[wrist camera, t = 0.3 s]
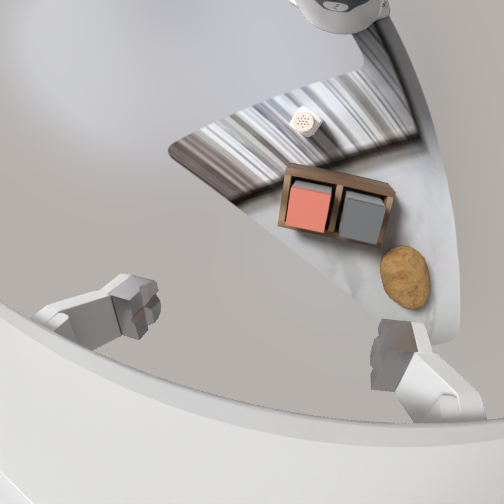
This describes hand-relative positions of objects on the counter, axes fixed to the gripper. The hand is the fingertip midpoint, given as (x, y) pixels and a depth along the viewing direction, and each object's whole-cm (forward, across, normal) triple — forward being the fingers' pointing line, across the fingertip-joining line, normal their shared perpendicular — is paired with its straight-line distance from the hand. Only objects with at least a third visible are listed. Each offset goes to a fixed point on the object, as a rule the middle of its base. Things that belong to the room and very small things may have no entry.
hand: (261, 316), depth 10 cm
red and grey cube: (+41, +1, +7) cm, 42 cm away
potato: (+46, -18, +19) cm, 53 cm away
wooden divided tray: (+46, -3, +7) cm, 47 cm away
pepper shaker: (+46, +3, -7) cm, 47 cm away
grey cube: (+41, -7, +7) cm, 42 cm away
